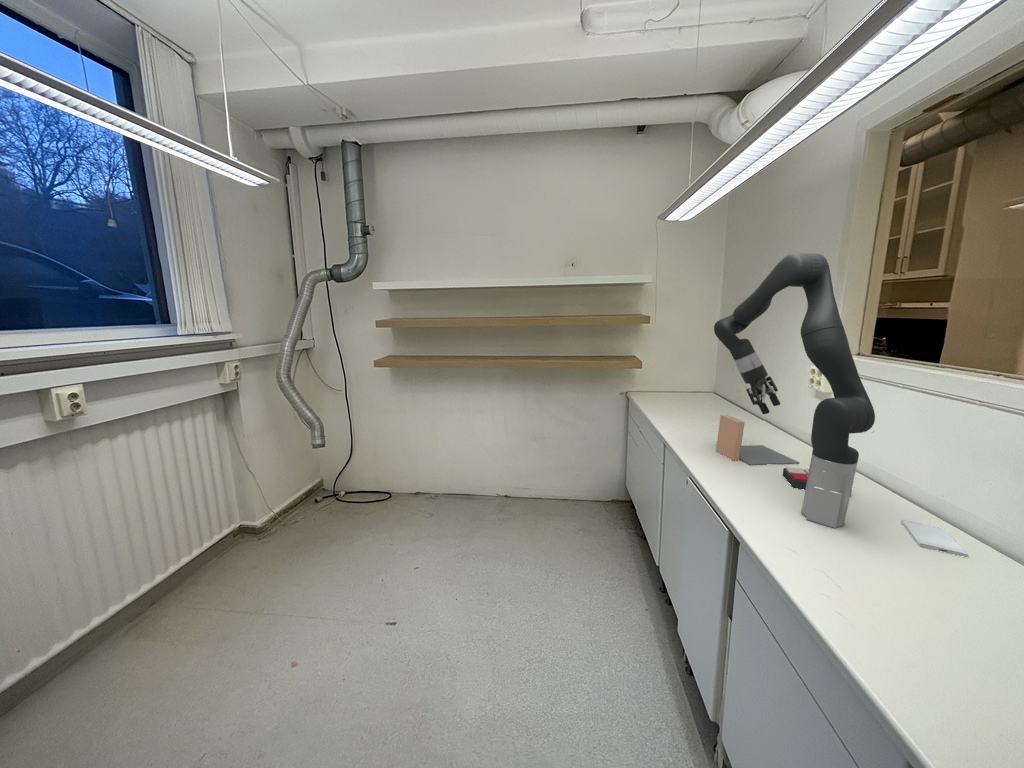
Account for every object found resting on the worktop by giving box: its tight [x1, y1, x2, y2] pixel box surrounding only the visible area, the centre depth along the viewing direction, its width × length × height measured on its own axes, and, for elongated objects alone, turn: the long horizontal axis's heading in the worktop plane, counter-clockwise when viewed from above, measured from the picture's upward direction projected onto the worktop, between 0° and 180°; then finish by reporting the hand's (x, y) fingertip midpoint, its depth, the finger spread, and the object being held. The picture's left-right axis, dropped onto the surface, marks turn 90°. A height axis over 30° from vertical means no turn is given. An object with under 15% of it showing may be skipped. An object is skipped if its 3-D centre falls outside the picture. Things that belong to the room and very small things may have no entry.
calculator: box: [782, 466, 853, 498], centre depth 124 cm, size 11×4×15 cm
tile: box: [715, 414, 745, 462], centre depth 146 cm, size 2×10×15 cm, turn 8°
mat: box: [739, 444, 800, 466], centre depth 149 cm, size 20×18×1 cm
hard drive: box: [900, 519, 969, 558], centre depth 96 cm, size 2×8×12 cm
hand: (772, 409), depth 136 cm, fingers open, 8 cm apart
